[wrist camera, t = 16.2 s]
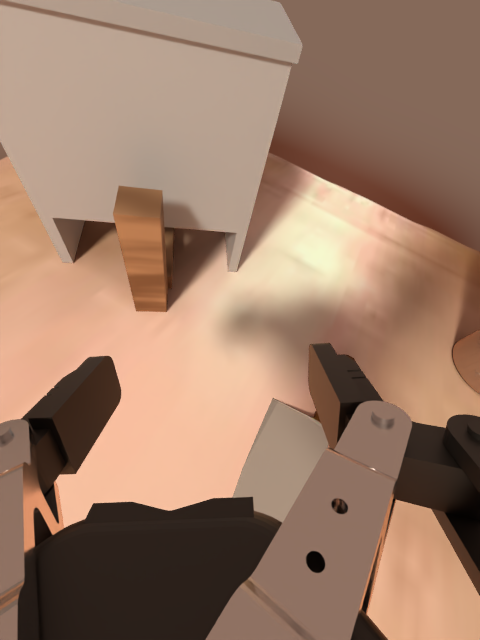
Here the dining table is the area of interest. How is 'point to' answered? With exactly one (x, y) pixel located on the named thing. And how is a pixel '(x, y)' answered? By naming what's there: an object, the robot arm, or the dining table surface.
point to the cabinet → (143, 107)
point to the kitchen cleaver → (281, 459)
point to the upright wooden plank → (145, 246)
